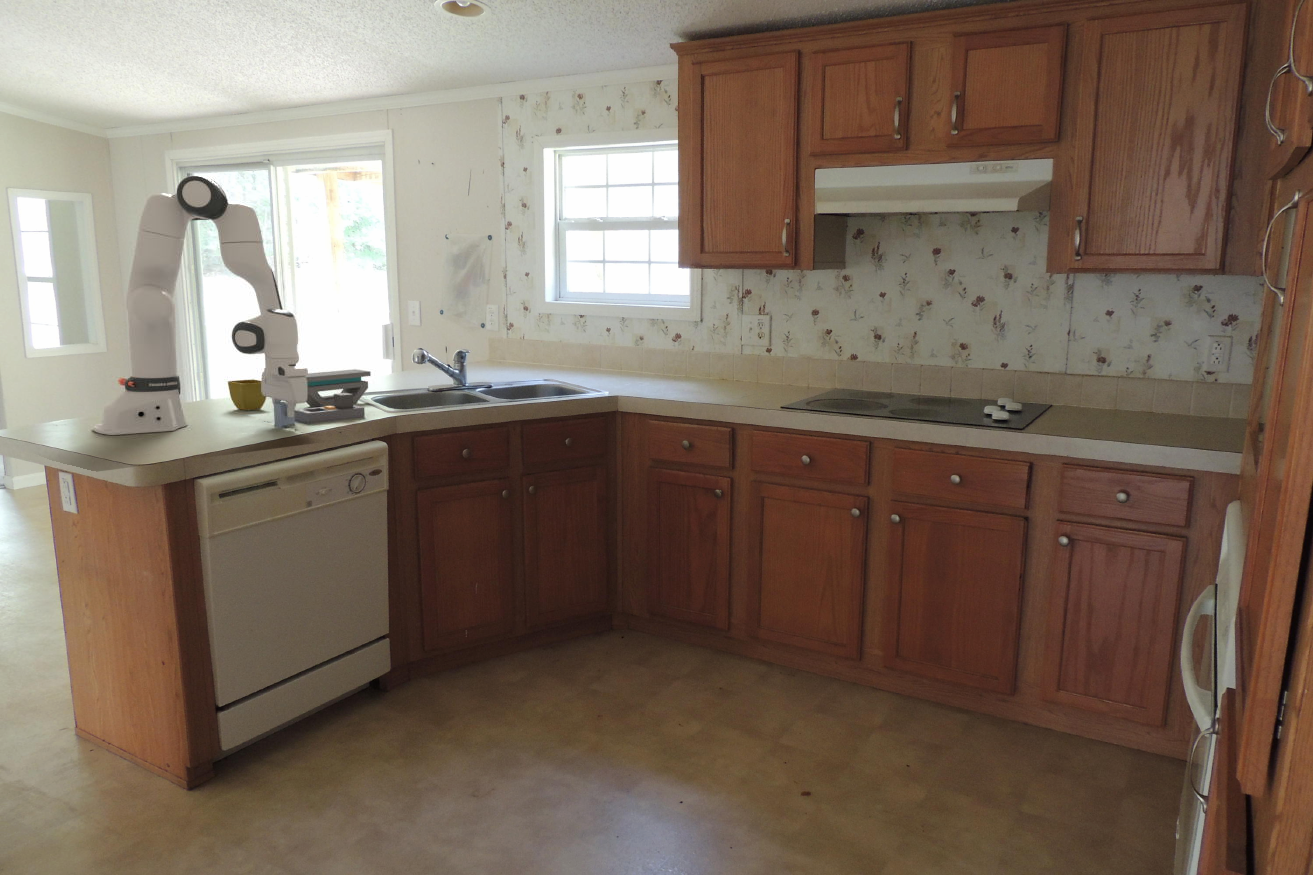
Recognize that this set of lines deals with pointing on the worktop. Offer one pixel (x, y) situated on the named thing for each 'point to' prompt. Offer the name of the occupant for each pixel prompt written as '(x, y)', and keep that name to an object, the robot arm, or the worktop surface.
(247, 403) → the flower pot
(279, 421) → the plug
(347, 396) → the twin plug
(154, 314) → the robot arm
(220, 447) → the worktop surface
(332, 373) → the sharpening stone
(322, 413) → the strip
